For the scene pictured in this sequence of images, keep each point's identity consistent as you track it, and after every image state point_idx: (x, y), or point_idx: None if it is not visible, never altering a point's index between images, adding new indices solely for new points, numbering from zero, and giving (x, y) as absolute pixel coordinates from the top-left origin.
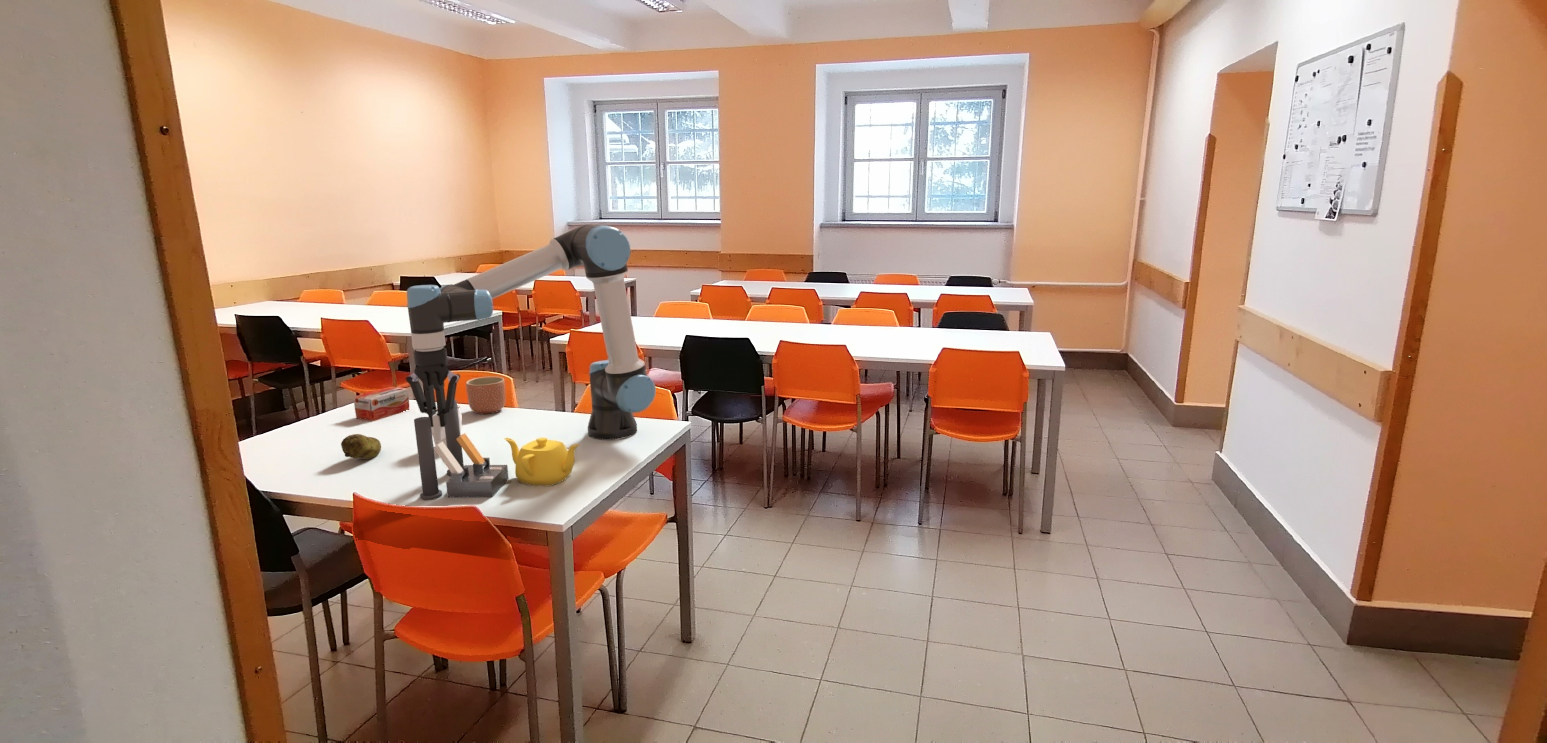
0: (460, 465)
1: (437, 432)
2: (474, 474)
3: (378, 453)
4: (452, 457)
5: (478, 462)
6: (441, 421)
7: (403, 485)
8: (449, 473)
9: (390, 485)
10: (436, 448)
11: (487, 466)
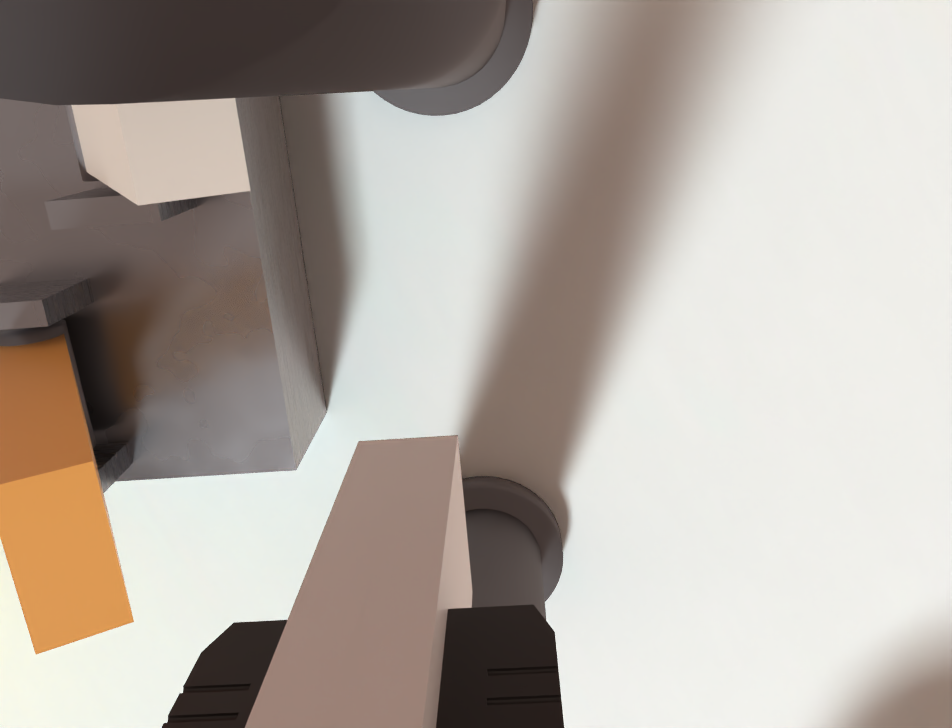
0: None
1: (380, 505)
2: (46, 224)
3: None
4: (96, 142)
5: (7, 353)
6: (249, 712)
7: (821, 258)
8: (513, 492)
9: (942, 252)
10: None
11: None
